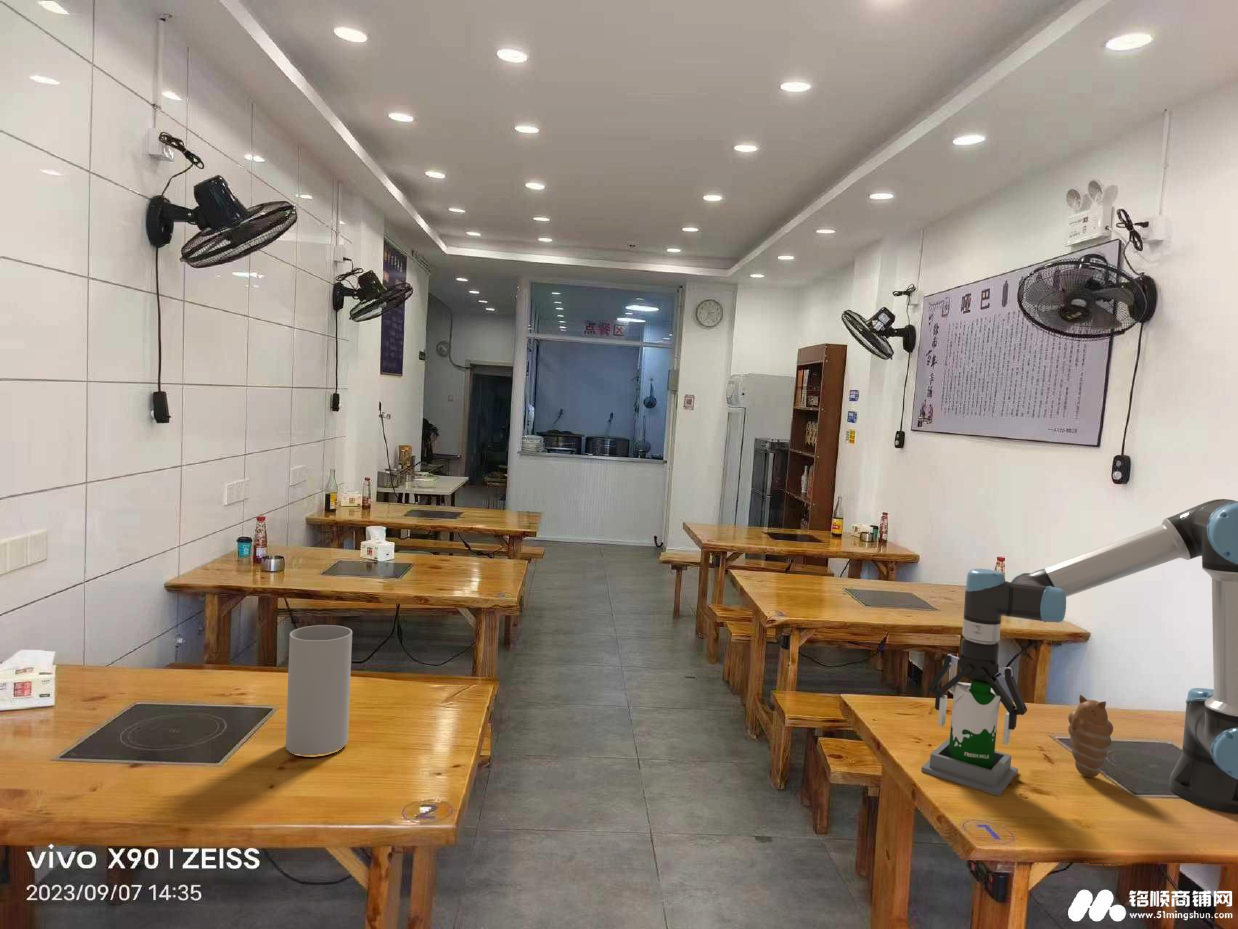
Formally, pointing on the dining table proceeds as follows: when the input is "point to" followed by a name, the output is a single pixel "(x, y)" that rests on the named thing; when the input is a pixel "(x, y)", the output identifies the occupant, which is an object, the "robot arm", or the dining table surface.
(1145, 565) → the robot arm
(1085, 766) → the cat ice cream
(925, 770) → the dock
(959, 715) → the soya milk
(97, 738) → the dining table surface
